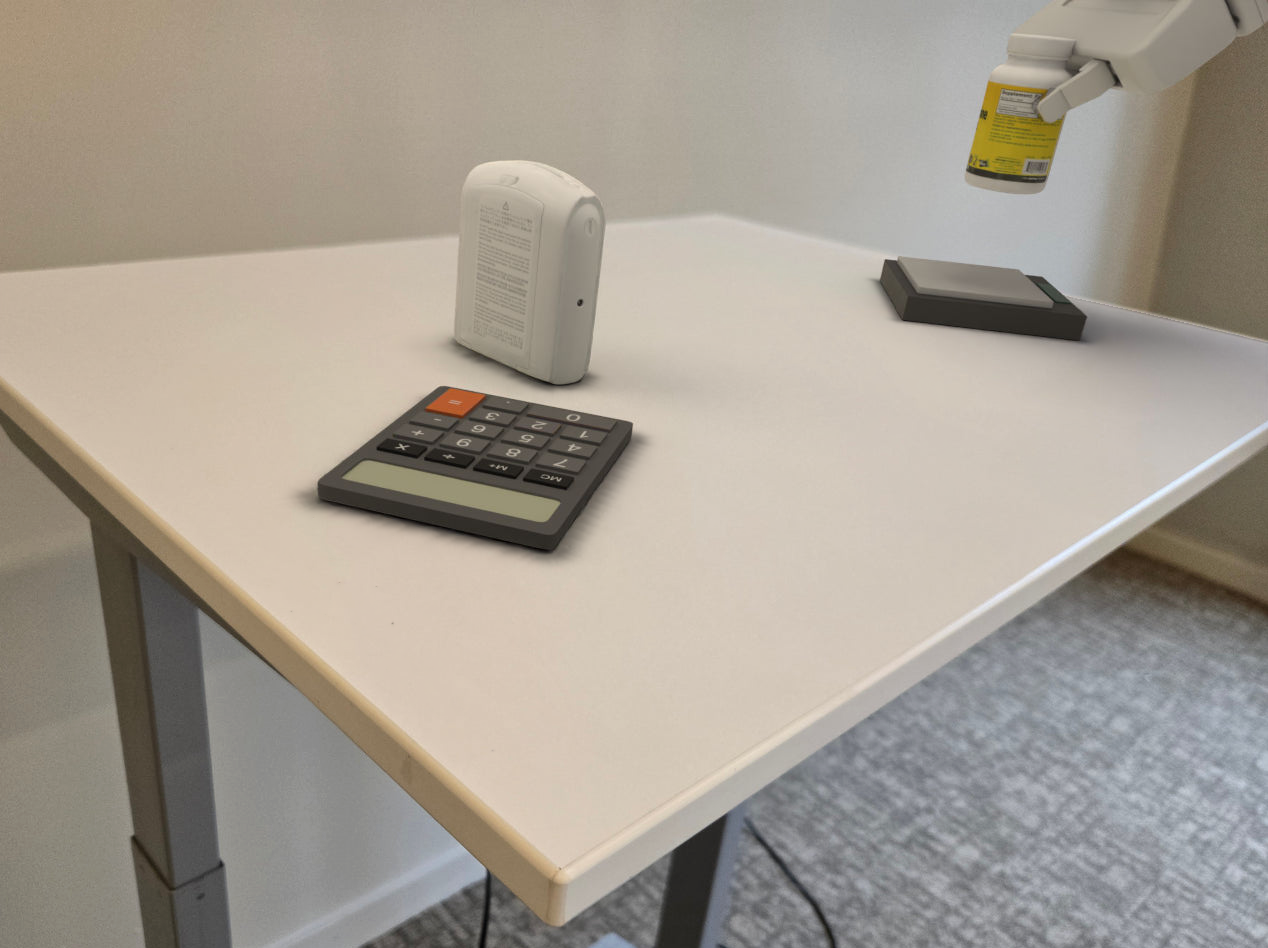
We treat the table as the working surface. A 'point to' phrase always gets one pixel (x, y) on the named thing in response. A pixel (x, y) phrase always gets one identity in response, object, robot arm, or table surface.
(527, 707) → the table surface
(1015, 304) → the scale
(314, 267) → the table surface
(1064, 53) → the pill bottle
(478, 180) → the photo printer
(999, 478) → the table surface
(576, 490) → the calculator
